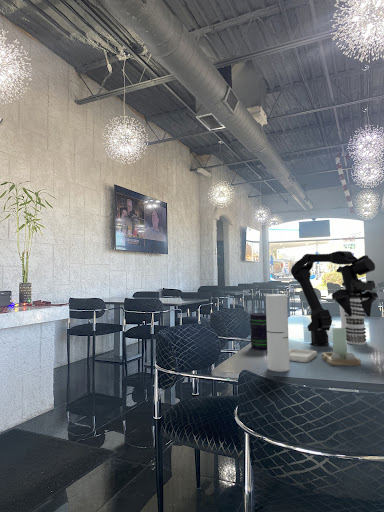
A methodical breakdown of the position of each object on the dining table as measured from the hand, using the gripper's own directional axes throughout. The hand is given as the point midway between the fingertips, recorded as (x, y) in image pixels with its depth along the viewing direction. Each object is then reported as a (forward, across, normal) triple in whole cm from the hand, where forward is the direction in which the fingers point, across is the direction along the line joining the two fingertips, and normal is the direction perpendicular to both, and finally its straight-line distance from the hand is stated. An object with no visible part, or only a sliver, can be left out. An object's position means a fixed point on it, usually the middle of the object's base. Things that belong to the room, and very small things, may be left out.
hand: (359, 316), depth 138 cm
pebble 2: (+18, -14, -5) cm, 23 cm away
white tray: (+14, -24, +10) cm, 30 cm away
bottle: (+2, +24, +34) cm, 42 cm away
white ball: (+18, -19, -2) cm, 26 cm away
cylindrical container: (+19, -40, +1) cm, 45 cm away
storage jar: (+8, -28, +31) cm, 42 cm away
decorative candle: (+6, +17, +23) cm, 29 cm away
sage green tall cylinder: (+17, -15, -1) cm, 22 cm away
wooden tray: (+17, -15, 0) cm, 23 cm away
